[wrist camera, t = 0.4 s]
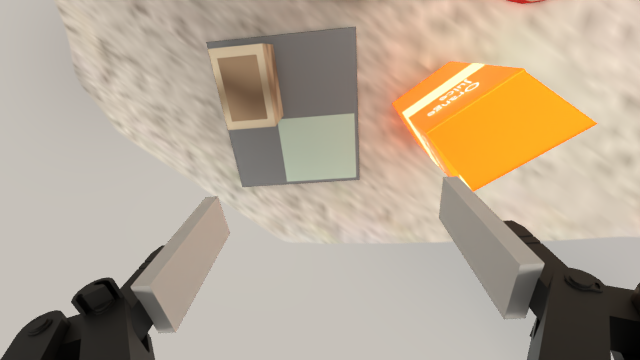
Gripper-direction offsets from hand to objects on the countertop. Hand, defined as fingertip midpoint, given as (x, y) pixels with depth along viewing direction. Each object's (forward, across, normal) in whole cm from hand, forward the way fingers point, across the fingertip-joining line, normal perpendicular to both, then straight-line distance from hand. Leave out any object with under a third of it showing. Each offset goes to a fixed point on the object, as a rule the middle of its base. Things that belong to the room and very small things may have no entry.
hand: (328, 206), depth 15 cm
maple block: (+24, -9, +5) cm, 26 cm away
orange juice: (+25, +14, 0) cm, 29 cm away
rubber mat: (+24, -6, 0) cm, 25 cm away
